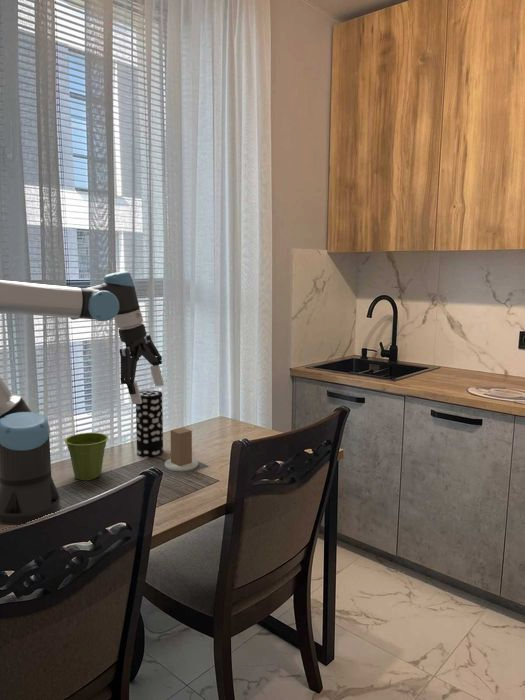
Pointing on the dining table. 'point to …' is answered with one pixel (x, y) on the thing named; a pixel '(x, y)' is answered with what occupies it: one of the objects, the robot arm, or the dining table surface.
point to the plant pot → (87, 454)
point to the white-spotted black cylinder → (149, 424)
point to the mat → (162, 466)
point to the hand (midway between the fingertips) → (149, 394)
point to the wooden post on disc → (181, 451)
